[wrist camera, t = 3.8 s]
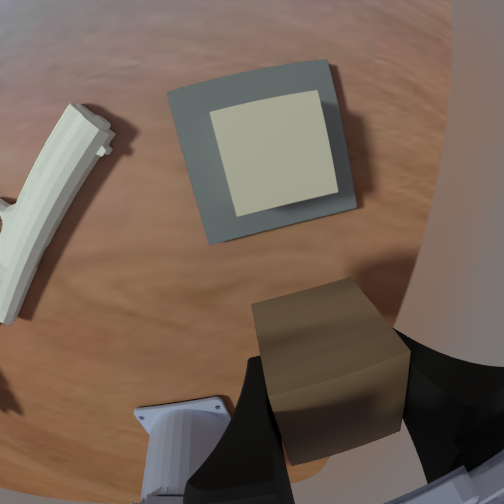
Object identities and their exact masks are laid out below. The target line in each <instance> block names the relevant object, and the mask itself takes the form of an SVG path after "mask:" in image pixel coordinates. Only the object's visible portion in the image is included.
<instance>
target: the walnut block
mask: <svg viewBox="0 0 504 504" xmlns="http://www.w3.org/2000/svg"><path fill="white" fill-rule="evenodd" d="M251 306H252V311H253V317H254V322H255V328H256V333H257V339H258V344H259V350H260V355H261V361H262V366H263V371H264V377H265V382H266V387H267V393H268V397H269V400H270V404H271V407H272V410H273V413H274V416H275V419H276V422H277V425H278V428H279V431H280V434H281V437H282V440H283V443H284V446H285V449H286V452H287V455H288V458H289V461H290V463H291V466H294V465H298V464H302V463H306V462H310V461H314V460H317V459H321V458H324V457H328V456H331V455H334V454H338V453H341V452H344V451H347V450H350V449H353V448H356V447H359V446H362V445H365V444H367V443H370V442H373V441H376V440H378V439H381V438H383V437H386V436H388V435H391V434H393V433H396V432H398V431H400V429H401V423H402V417H403V411H404V404H405V397H406V390H407V381H408V373H409V363H410V352H411V351H410V350H409V348H408V347H407V346H406V345H405V343H404V342H403V341H402V340H401V338H400V337H399V336H398V334H397V333H396V332H395V331H394V329H393V328H392V327H391V326H390V325H389V323H388V322H387V321H386V320H385V318H384V317H383V316H382V315H381V313H380V312H379V311H378V310H377V309H376V307H375V306H374V305H373V304H372V303H371V301H370V300H369V299H368V298H367V297H366V295H365V294H364V293H363V292H362V291H361V289H360V288H359V287H358V286H357V285H356V283H355V282H354V281H353V280H352V279H351V278H350V277H349V278H346V279H342V280H339V281H335V282H332V283H328V284H325V285H321V286H318V287H314V288H310V289H307V290H303V291H300V292H296V293H292V294H288V295H285V296H281V297H277V298H273V299H269V300H266V301H262V302H258V303H254V304H251Z"/></svg>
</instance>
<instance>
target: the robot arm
mask: <svg viewBox="0 0 504 504" xmlns="http://www.w3.org/2000/svg"><path fill="white" fill-rule="evenodd" d="M393 329H394V328H393ZM394 331H395V332H396V333H397V334H398V336H399V337H400V338H401V340H402V341H403V342H404V343H405V345H406V346H407V347H408V348H409V350H410V351H411V352H410V363H409V373H408V381H407V390H406V397H405V404H404V411H403V417H402V418H403V420H404V422H405V425H406V427H407V429H408V431H409V433H410V436H411V438H412V440H413V443H414V446H415V448H416V451H417V453H418V456H419V459H420V462H421V464H422V467H423V470H424V474H425V477H426V480H427V483H428V484H427V485H425V486H423V487H421V488H419V489H416V490H414V491H412V492H410V493H408V494H405V495H403V496H401V497H398V498H396V499H393V500H391V501H389V502H386V503H384V504H504V367H495V366H487V365H480V364H476V363H471V362H467V361H463V360H460V359H456V358H453V357H450V356H447V355H445V354H442V353H439V352H437V351H435V350H432V349H431V348H428V347H426V346H424V345H422V344H420V343H418V342H416V341H415V340H413V339H411V338H409V337H407V336H406V335H404V334H402V333H401V332H399V331H397V330H396V329H394ZM134 415H135V416H136V418H137V419H138V420H139V422H140V423H141V424H142V426H143V427H144V428H145V430H146V431H147V432H148V433H149V435H150V438H149V444H148V450H147V457H146V464H145V471H144V478H143V485H142V493H141V501H140V503H139V504H295V502H294V498H293V494H292V490H291V485H290V481H289V477H288V472H287V468H286V463H285V459H284V453H283V446H282V437H281V434H280V431H279V428H278V425H277V422H276V419H275V416H274V413H273V410H272V407H271V404H270V400H269V397H268V393H267V387H266V382H265V377H264V371H263V366H262V361H261V355H260V356H256V357H252V358H249V360H248V363H247V370H246V376H245V380H244V384H243V387H242V391H241V394H240V397H239V400H238V403H237V405H236V408H235V411H234V413H233V415H232V418H231V417H230V415H229V412H228V410H227V408H226V406H225V404H224V402H223V400H222V399H221V398H220V397H211V398H206V399H200V400H194V401H187V402H181V403H174V404H167V405H159V406H151V407H143V408H136V409H135V410H134ZM130 504H137V503H134V502H132V503H130Z"/></svg>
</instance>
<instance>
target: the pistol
mask: <svg viewBox="0 0 504 504" xmlns="http://www.w3.org/2000/svg"><path fill="white" fill-rule="evenodd" d="M110 126H111V124H110V122H108V121H107V120H106V119H104V118H103V117H101V116H99V115H95V114H94V113H92V112H91V111H90V110H88V109H87V108H86V107H84V106H83V105H79V104H74V103H70V104H69V105H68V107H67V109H66V110H65V112H64V113H63V115H62V116H61V118H60V120H59V121H58V123H57V124H56V126H55V128H54V129H53V131H52V133H51V135H50V136H49V138H48V140H47V142H46V143H45V145H44V147H43V149H42V151H41V152H40V154H39V156H38V158H37V160H36V162H35V164H34V166H33V168H32V170H31V172H30V174H29V176H28V178H27V180H26V182H25V184H24V186H23V188H22V191H21V193H20V195H19V197H18V200H17V202H16V203H15V204H13V205H10V204H9V203H7V202H6V201H4V200H2V199H0V216H1V219H2V222H3V227H2V230H1V233H0V322H1V323H3V324H6V325H8V326H11V325H12V324H13V323H14V321H15V320H16V319H17V317H18V314H19V311H20V309H21V306H22V304H23V301H24V299H25V296H26V294H27V292H28V289H29V287H30V284H31V282H32V280H33V278H34V275H35V273H36V271H37V269H38V265H39V263H40V261H41V259H42V257H43V255H44V253H45V250H46V248H47V246H48V245H49V244H50V242H51V240H52V238H53V236H54V234H55V232H56V230H57V228H58V226H59V225H60V223H61V221H62V219H63V217H64V215H65V214H66V212H67V210H68V208H69V207H70V205H71V203H72V201H73V200H74V198H75V196H76V195H77V193H78V191H79V190H80V188H81V186H82V185H83V183H84V181H85V180H86V178H87V177H88V175H89V173H90V172H91V170H92V169H93V167H94V166H95V164H96V163H97V161H98V160H99V158H100V157H102V156H103V155H104V154H106V155H110V153H111V152H112V150H113V149H112V148H111V147H110V146H109V144H110V142H111V141H112V139H113V138H114V137H115V135H116V134H115V133H114V132H112V131H111V130H110V129H109V128H110Z"/></svg>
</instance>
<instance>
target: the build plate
mask: <svg viewBox="0 0 504 504" xmlns="http://www.w3.org/2000/svg"><path fill="white" fill-rule="evenodd" d="M167 95H168V99H169V103H170V107H171V111H172V115H173V118H174V122H175V126H176V130H177V134H178V137H179V141H180V145H181V148H182V152H183V156H184V159H185V163H186V166H187V170H188V174H189V177H190V181H191V184H192V188H193V191H194V195H195V198H196V202H197V205H198V208H199V212H200V215H201V219H202V222H203V225H204V229H205V232H206V235H207V239H208V242H209V245H212V244H215V243H219V242H223V241H227V240H231V239H235V238H238V237H242V236H246V235H250V234H254V233H258V232H262V231H266V230H270V229H274V228H278V227H281V226H285V225H289V224H293V223H297V222H301V221H305V220H309V219H313V218H317V217H321V216H326V215H330V214H334V213H338V212H342V211H346V210H350V209H354V208H357V205H356V198H355V192H354V185H353V179H352V173H351V167H350V161H349V155H348V150H347V144H346V139H345V134H344V129H343V124H342V120H341V115H340V110H339V106H338V101H337V97H336V93H335V89H334V84H333V80H332V76H331V72H330V69H329V65H328V61H327V59H324V60H315V61H307V62H300V63H293V64H286V65H280V66H274V67H268V68H263V69H257V70H252V71H247V72H243V73H238V74H233V75H229V76H225V77H221V78H216V79H212V80H209V81H205V82H201V83H197V84H194V85H190V86H186V87H183V88H180V89H176V90H173V91H170V92H167Z"/></svg>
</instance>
